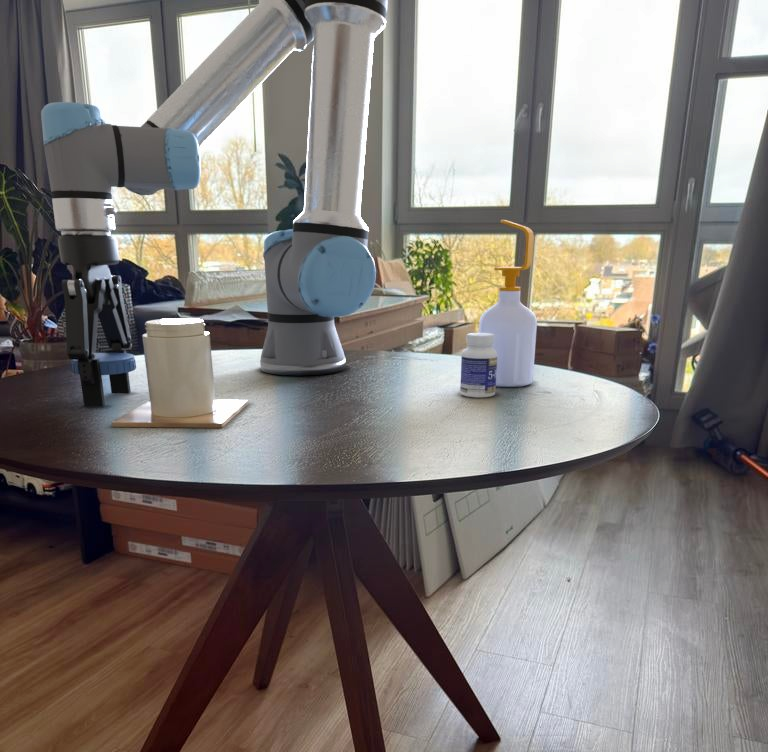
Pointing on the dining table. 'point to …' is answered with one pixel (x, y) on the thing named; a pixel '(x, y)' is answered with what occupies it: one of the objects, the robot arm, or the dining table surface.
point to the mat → (211, 420)
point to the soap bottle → (512, 325)
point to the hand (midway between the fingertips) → (108, 399)
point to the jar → (179, 367)
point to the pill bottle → (478, 366)
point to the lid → (111, 363)
